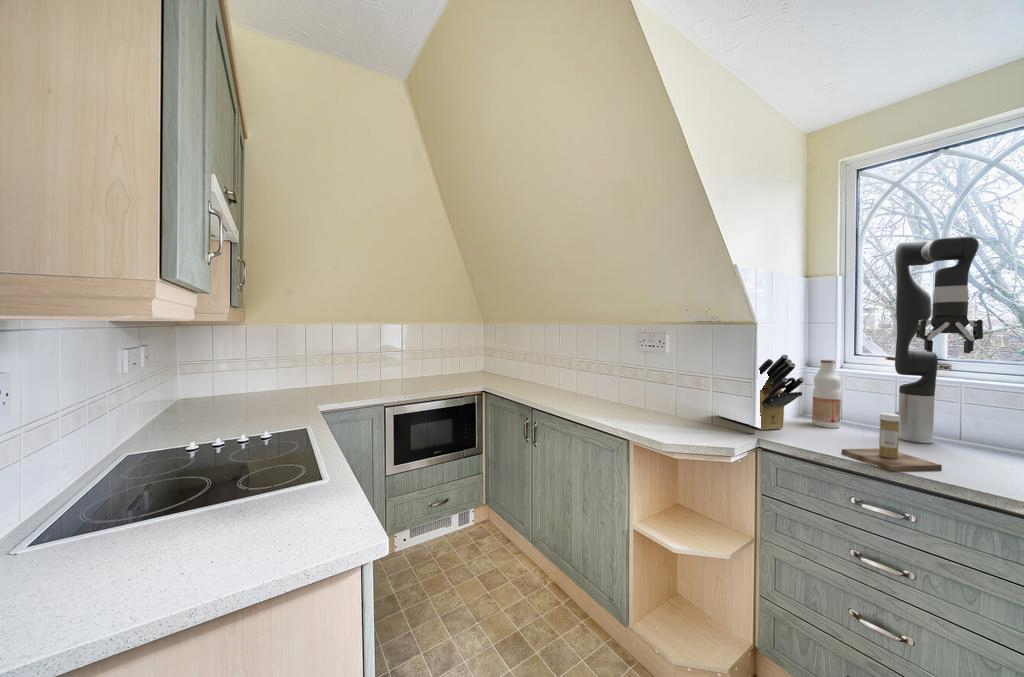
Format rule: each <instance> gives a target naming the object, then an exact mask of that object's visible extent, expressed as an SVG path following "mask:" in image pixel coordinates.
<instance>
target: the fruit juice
mask: <svg viewBox="0 0 1024 677" xmlns="http://www.w3.org/2000/svg"><path fill="white" fill-rule="evenodd" d="M835 364H836V360H834V359H820V367H819V369H818V372H817V373H816V375H815V376H814V377H813V383H814V388H813V390H812V411H811V412H812V414H811V423H812V425H813V426H817V427H821V428H829V429H837V428H838V429H839V428H840V427H841V411H842V407H841V406H842V392H841V389H840V387H841V385H842V379H841V377H840V375H839V374H838V372H837V369H836V367H835Z"/></svg>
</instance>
